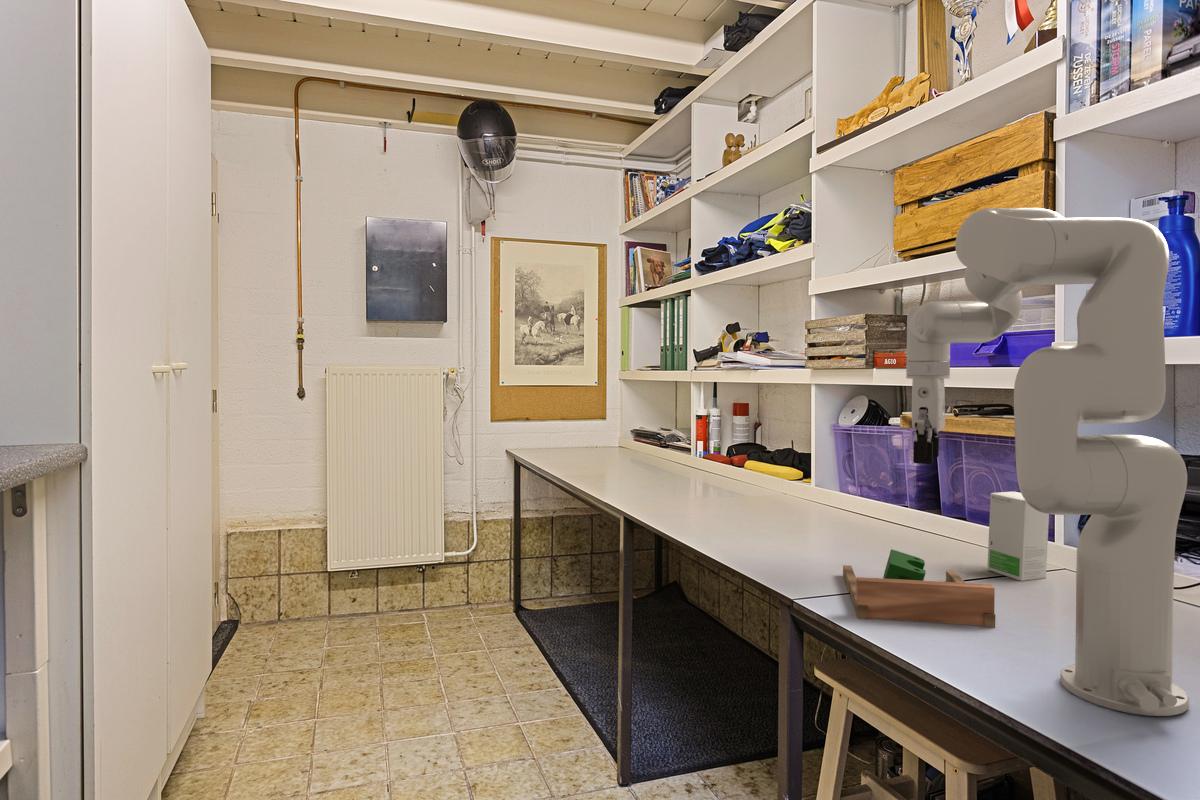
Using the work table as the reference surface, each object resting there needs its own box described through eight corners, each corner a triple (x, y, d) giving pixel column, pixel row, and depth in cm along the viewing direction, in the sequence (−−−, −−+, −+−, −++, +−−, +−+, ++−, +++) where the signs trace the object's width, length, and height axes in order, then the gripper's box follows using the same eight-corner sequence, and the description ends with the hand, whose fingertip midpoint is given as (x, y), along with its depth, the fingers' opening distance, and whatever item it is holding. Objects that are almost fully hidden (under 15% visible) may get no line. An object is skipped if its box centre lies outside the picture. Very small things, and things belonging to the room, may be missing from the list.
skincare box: (986, 570, 141) (987, 492, 140) (1012, 567, 143) (1013, 490, 142) (1023, 582, 133) (1023, 499, 132) (1050, 578, 135) (1050, 497, 134)
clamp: (911, 619, 126) (924, 581, 121) (876, 607, 128) (888, 569, 124) (917, 578, 135) (930, 541, 131) (885, 567, 138) (896, 531, 133)
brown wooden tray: (995, 627, 109) (995, 588, 109) (858, 618, 114) (858, 581, 114) (954, 581, 133) (954, 549, 133) (842, 575, 138) (843, 544, 138)
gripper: (944, 371, 125) (942, 467, 126) (954, 370, 140) (952, 455, 141) (899, 371, 129) (897, 464, 130) (913, 370, 144) (911, 453, 145)
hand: (926, 460), depth 136 cm, fingers open, 9 cm apart
